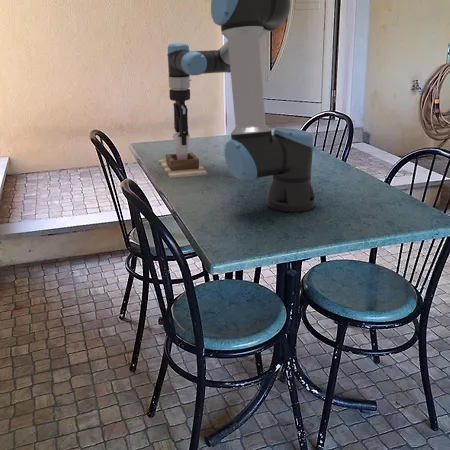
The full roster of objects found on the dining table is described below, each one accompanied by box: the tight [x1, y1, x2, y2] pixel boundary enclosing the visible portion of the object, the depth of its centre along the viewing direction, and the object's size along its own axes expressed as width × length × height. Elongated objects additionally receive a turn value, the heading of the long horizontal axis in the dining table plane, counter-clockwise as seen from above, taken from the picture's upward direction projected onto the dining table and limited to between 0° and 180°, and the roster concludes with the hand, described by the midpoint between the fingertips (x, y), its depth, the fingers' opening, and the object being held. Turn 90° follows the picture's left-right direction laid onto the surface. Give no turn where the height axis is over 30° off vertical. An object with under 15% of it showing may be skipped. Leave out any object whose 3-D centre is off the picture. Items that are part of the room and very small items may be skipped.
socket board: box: [159, 152, 208, 179], centre depth 201 cm, size 22×14×4 cm, turn 16°
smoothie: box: [172, 132, 191, 160], centre depth 198 cm, size 6×6×14 cm
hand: (181, 151), depth 199 cm, fingers closed on smoothie, 6 cm apart
